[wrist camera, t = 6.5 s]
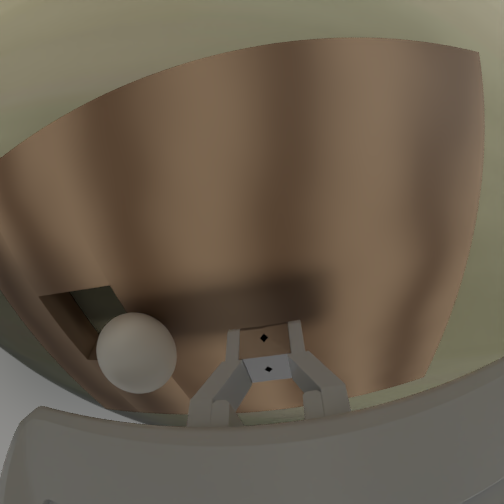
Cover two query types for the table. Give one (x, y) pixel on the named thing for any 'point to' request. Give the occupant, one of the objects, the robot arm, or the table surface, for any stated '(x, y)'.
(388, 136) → the board
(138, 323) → the ball
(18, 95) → the table surface
